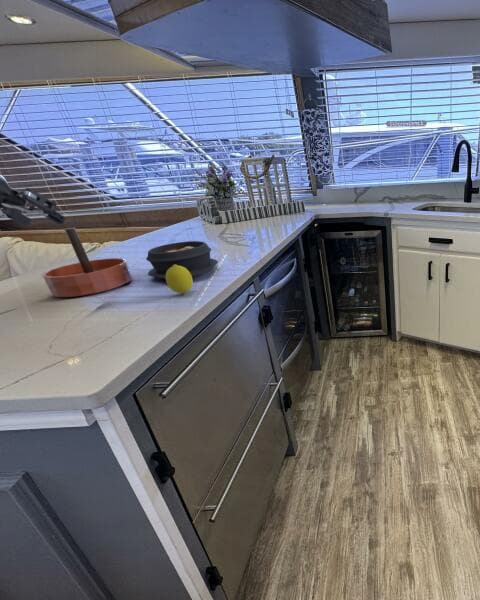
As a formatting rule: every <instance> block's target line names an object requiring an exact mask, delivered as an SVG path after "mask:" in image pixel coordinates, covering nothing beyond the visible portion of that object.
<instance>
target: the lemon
mask: <svg viewBox="0 0 480 600" xmlns="http://www.w3.org/2000/svg"><path fill="white" fill-rule="evenodd" d="M165 282H166V285H167V286H168V288H169V289H170V290H171V291H172V292H174V293H177V294H181V295H186V294H187V292H189V291H191V289H192V288H193V285H194V280H193V276H191V274H190V272H189V271H188V270H187V269H186V268H184V267H182V266H177V265H173V266H172V267H171V268H169V269H168V270H167V272H166V279H165Z"/></svg>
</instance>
